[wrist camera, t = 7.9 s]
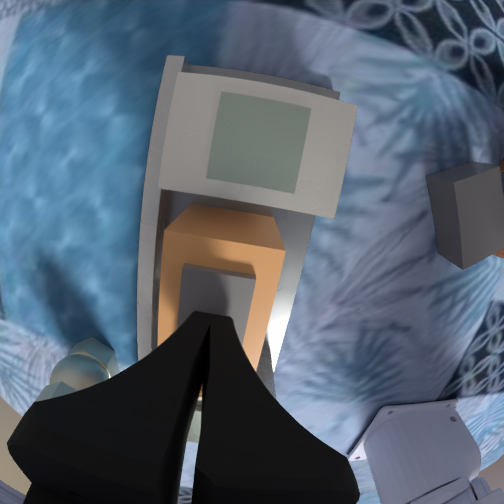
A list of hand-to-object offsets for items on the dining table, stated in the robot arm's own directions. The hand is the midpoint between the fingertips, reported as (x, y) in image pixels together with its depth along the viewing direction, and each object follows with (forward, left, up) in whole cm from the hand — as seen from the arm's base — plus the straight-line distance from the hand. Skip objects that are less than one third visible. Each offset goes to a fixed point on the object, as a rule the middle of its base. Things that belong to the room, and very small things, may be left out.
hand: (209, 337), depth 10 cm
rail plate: (0, 0, -7) cm, 7 cm away
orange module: (0, 0, -6) cm, 6 cm away
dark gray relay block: (-13, -6, -7) cm, 16 cm away
